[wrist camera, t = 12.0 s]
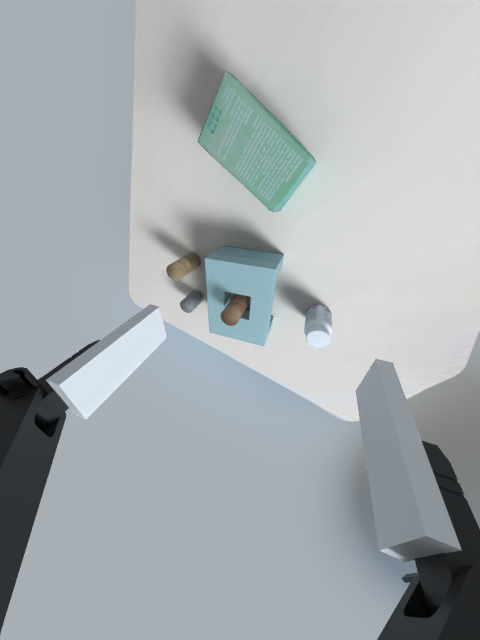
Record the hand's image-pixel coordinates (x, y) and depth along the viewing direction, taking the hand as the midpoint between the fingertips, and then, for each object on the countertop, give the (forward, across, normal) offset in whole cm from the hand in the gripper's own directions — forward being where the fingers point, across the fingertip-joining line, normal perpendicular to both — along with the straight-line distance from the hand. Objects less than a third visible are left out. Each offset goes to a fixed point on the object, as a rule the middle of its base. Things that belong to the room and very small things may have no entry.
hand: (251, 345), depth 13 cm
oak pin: (+29, -21, -7) cm, 36 cm away
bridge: (+29, -8, -11) cm, 32 cm away
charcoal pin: (+29, -21, -16) cm, 39 cm away
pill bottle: (+29, +7, -14) cm, 33 cm away
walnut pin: (+29, -8, -11) cm, 32 cm away
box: (+29, -7, +11) cm, 32 cm away
